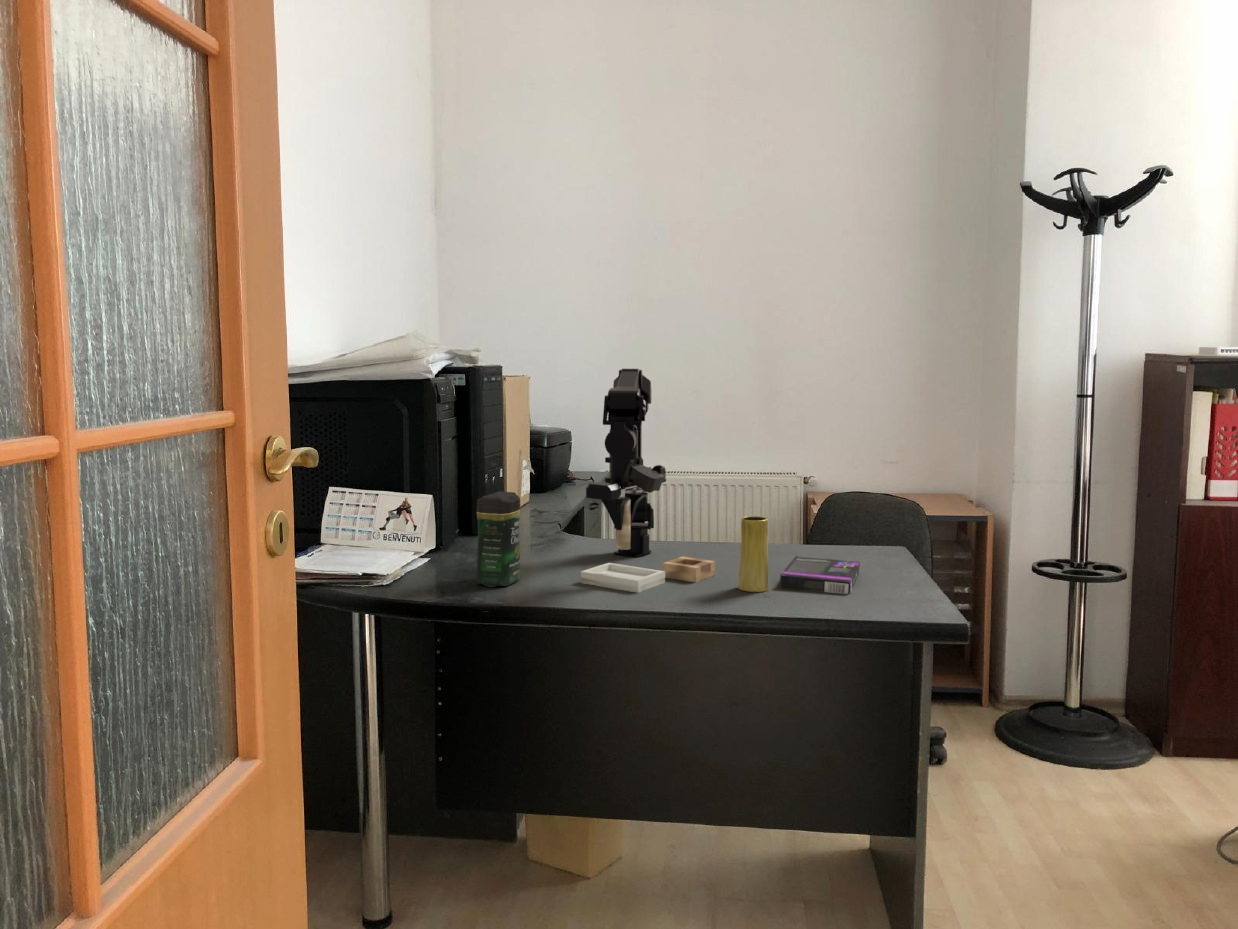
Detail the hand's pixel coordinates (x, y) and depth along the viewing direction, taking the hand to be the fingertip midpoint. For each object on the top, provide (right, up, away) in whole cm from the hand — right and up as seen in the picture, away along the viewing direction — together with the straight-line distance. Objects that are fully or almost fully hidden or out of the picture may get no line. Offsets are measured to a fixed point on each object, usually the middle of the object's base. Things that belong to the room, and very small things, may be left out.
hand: (623, 528), depth 201 cm
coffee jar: (-25, -11, +1) cm, 28 cm away
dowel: (0, -4, 0) cm, 4 cm away
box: (+41, -12, +4) cm, 43 cm away
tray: (0, -11, +1) cm, 11 cm away
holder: (+14, -10, +8) cm, 19 cm away
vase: (+26, -12, -3) cm, 29 cm away
